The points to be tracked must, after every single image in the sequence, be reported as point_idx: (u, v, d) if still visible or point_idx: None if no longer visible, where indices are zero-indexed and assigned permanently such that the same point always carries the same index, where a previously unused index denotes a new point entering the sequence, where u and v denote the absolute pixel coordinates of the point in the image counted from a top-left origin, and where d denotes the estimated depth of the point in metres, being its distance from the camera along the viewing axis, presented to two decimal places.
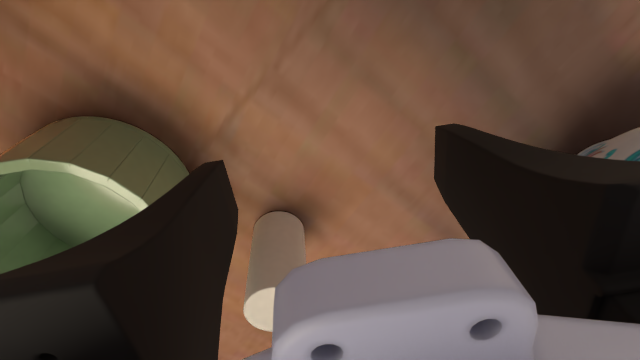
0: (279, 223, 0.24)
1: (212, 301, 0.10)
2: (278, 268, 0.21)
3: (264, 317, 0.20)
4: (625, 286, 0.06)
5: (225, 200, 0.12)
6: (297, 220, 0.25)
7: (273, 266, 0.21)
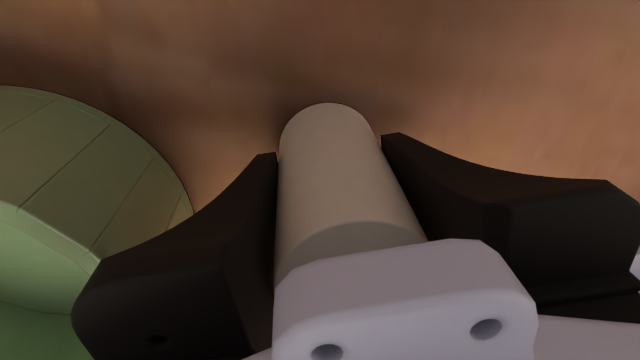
0: (305, 123, 0.12)
1: None
2: (313, 191, 0.08)
3: None
4: None
5: None
6: (342, 107, 0.13)
7: (303, 193, 0.09)
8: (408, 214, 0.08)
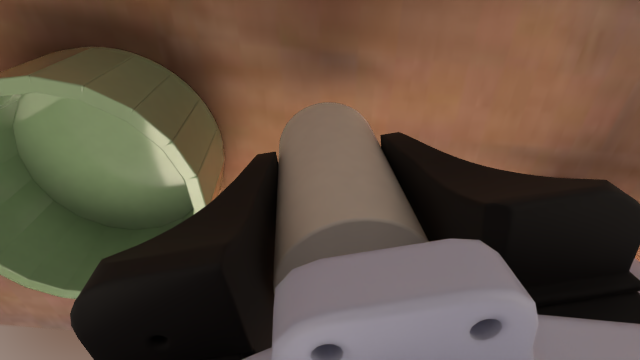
0: (305, 123, 0.12)
1: None
2: (313, 190, 0.08)
3: None
4: None
5: None
6: (342, 106, 0.13)
7: (303, 192, 0.09)
8: (409, 213, 0.08)
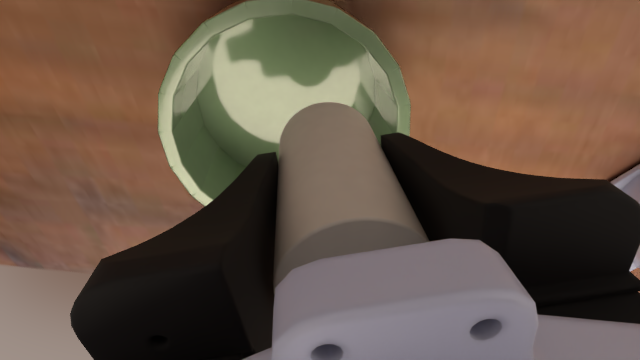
0: (305, 123, 0.12)
1: None
2: (313, 190, 0.08)
3: None
4: None
5: None
6: (342, 106, 0.13)
7: (303, 192, 0.08)
8: (409, 212, 0.08)
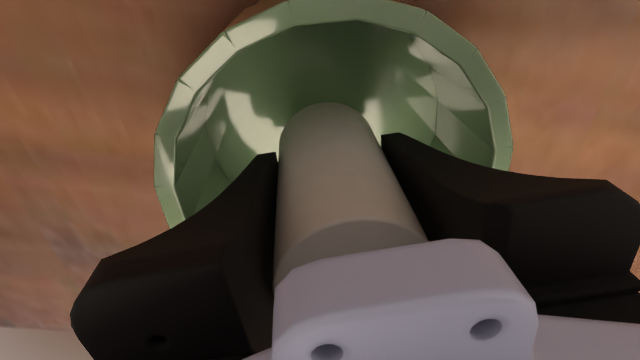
0: (305, 123, 0.12)
1: None
2: (312, 190, 0.08)
3: None
4: None
5: None
6: (342, 106, 0.13)
7: (303, 192, 0.08)
8: (409, 213, 0.08)
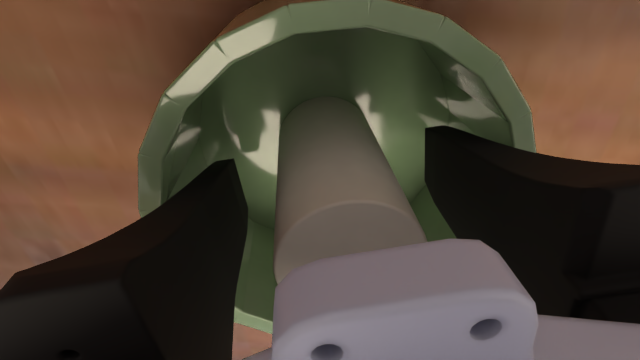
0: (303, 116, 0.12)
1: (226, 299, 0.10)
2: (310, 177, 0.09)
3: None
4: (604, 289, 0.06)
5: (236, 198, 0.12)
6: (339, 100, 0.13)
7: (301, 179, 0.09)
8: (401, 198, 0.08)
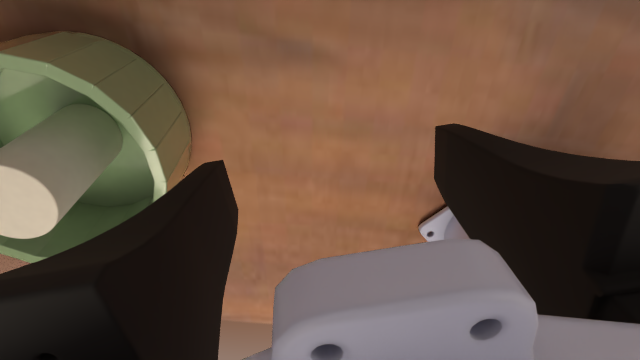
0: None
1: (212, 301, 0.10)
2: None
3: (8, 220, 0.15)
4: (625, 286, 0.06)
5: (225, 200, 0.12)
6: (85, 106, 0.20)
7: None
8: (36, 165, 0.15)
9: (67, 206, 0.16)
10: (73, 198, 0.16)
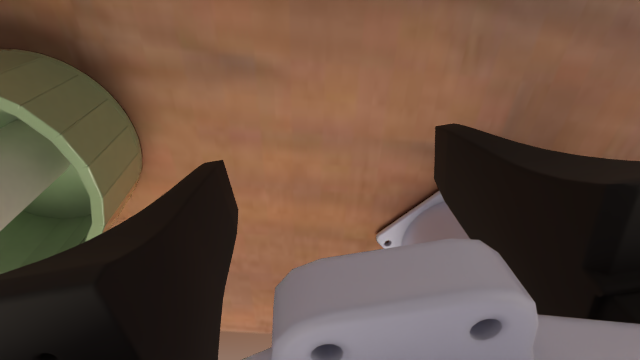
0: None
1: (212, 301, 0.10)
2: None
3: None
4: (625, 286, 0.06)
5: (225, 200, 0.12)
6: None
7: None
8: None
9: (0, 223, 0.16)
10: (7, 215, 0.17)
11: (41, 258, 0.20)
